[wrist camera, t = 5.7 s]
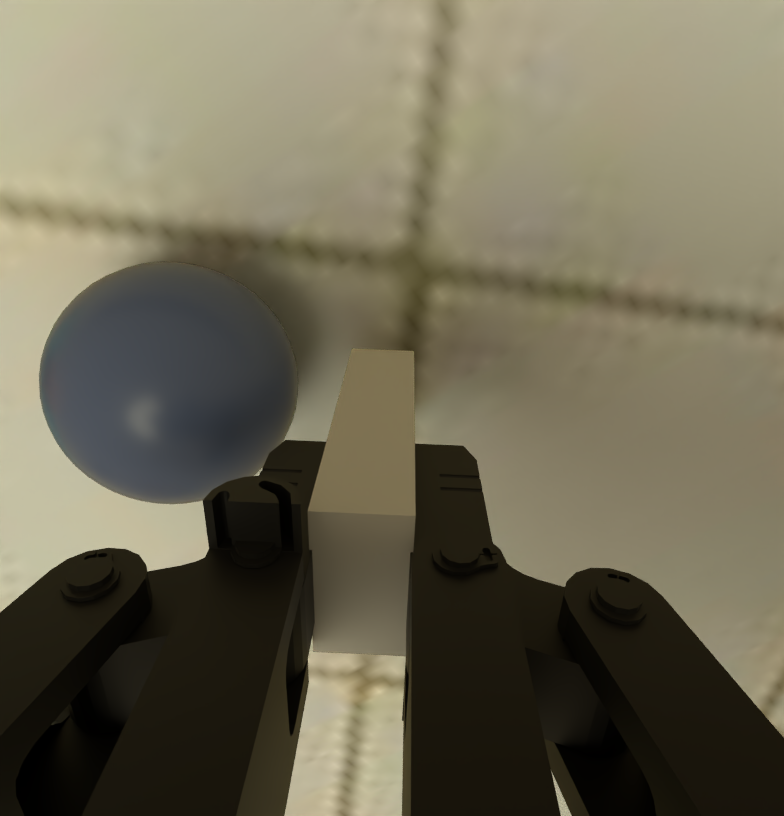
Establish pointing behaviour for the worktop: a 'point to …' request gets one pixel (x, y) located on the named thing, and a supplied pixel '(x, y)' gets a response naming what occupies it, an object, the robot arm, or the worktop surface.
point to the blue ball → (168, 382)
